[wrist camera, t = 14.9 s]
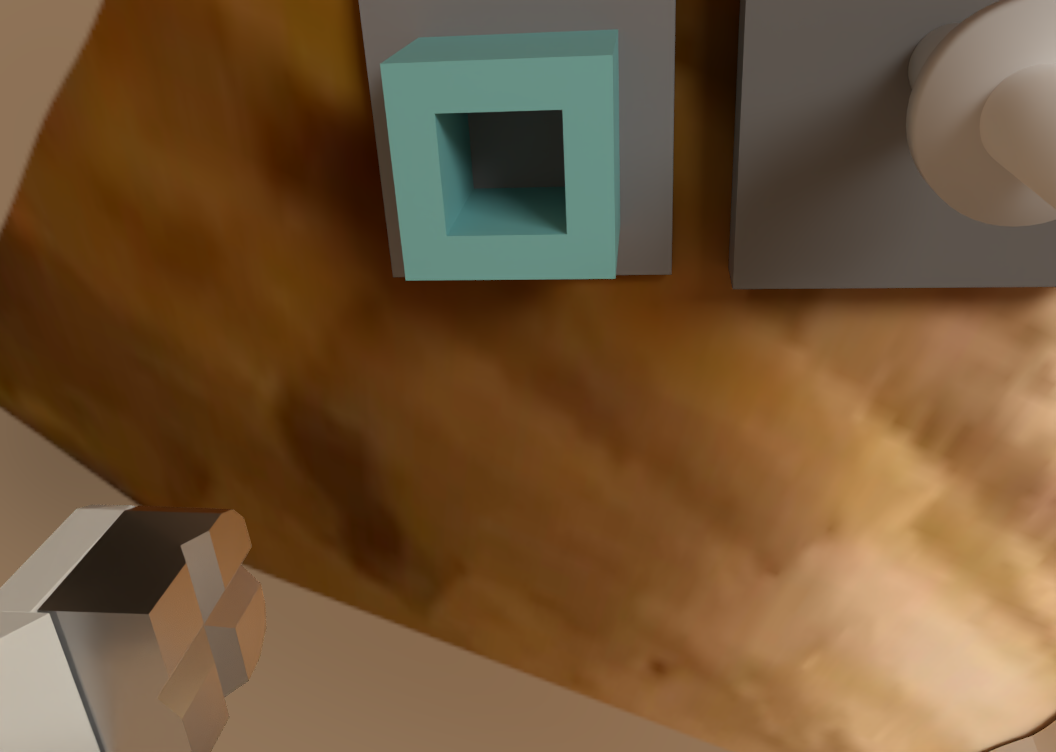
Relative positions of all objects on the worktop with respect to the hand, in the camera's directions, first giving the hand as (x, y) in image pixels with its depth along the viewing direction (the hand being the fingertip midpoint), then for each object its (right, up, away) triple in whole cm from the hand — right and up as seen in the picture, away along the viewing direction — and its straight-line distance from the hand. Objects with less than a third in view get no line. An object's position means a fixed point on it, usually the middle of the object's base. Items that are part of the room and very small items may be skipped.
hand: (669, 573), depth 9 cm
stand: (+11, +12, +21) cm, 27 cm away
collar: (-2, +10, +23) cm, 25 cm away
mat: (-1, +10, +24) cm, 26 cm away
